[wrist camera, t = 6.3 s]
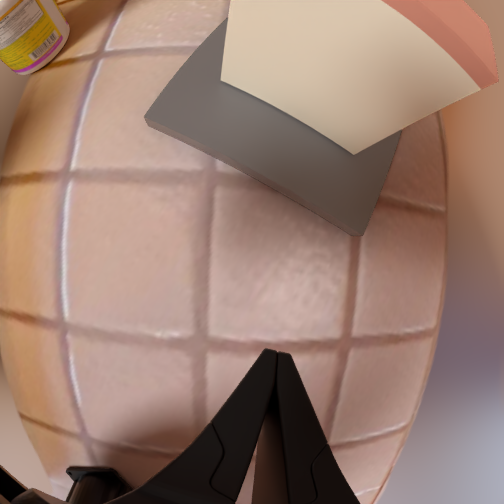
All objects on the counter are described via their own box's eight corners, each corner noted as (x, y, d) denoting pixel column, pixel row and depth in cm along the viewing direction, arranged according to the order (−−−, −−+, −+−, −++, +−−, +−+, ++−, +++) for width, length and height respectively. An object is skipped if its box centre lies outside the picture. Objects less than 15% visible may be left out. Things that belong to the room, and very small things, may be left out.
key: (353, 155, 17) (498, 81, 5) (220, 80, 15) (245, -78, 3) (374, 105, 17) (488, 26, 5) (255, 37, 15) (300, -93, 4)
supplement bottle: (28, 36, 13) (-22, -29, 1) (80, 17, 14) (40, -68, 2) (7, 86, 14) (-65, 26, 1) (60, 66, 15) (-8, -23, 2)
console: (352, 235, 19) (362, 235, 17) (148, 125, 16) (143, 117, 15) (406, 87, 19) (415, 81, 18) (256, -1, 17) (259, -11, 15)
